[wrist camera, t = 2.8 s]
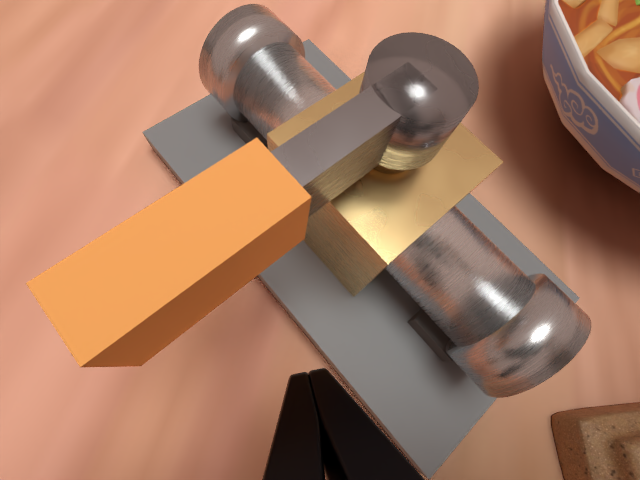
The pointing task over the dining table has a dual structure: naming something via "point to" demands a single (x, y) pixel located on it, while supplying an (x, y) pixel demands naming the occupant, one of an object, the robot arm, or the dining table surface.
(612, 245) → the dining table surface
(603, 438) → the candle holder
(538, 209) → the dining table surface
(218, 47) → the valve assembly
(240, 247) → the valve lever
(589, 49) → the ramen bowl
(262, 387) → the dining table surface
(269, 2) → the dining table surface
